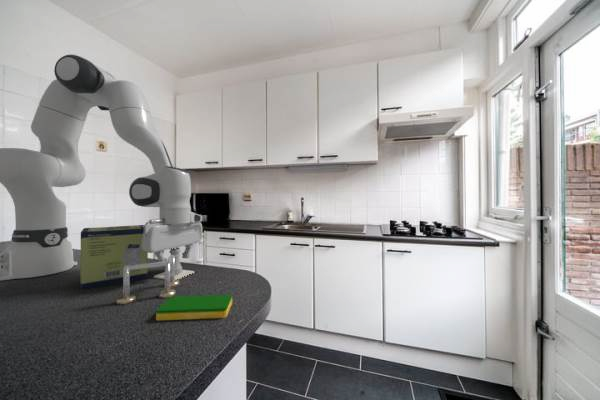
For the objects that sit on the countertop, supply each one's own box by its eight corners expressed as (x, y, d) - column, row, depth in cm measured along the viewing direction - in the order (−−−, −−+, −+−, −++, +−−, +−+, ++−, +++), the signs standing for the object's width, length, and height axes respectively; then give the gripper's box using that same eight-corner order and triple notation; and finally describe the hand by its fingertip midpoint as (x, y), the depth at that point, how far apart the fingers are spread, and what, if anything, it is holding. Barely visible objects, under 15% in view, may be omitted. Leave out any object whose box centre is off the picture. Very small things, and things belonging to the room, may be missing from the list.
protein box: (82, 279, 70) (82, 227, 70) (144, 270, 80) (144, 224, 80) (79, 290, 62) (79, 231, 62) (148, 278, 72) (149, 227, 72)
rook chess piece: (185, 271, 76) (185, 247, 76) (176, 276, 72) (176, 250, 72) (173, 270, 77) (173, 246, 77) (163, 274, 73) (163, 249, 73)
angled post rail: (112, 303, 54) (113, 266, 54) (169, 281, 69) (170, 252, 69) (142, 310, 51) (143, 271, 51) (196, 285, 66) (196, 255, 66)
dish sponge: (170, 306, 54) (171, 296, 54) (232, 304, 55) (232, 294, 55) (155, 322, 47) (155, 310, 47) (226, 319, 48) (226, 308, 48)
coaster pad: (153, 277, 72) (153, 275, 72) (175, 270, 79) (175, 268, 79) (174, 280, 69) (174, 278, 69) (194, 273, 77) (194, 271, 77)
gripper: (152, 220, 63) (152, 271, 63) (205, 216, 83) (205, 255, 83) (136, 219, 65) (135, 269, 65) (191, 215, 85) (191, 253, 85)
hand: (175, 261), depth 74 cm, fingers open, 8 cm apart
